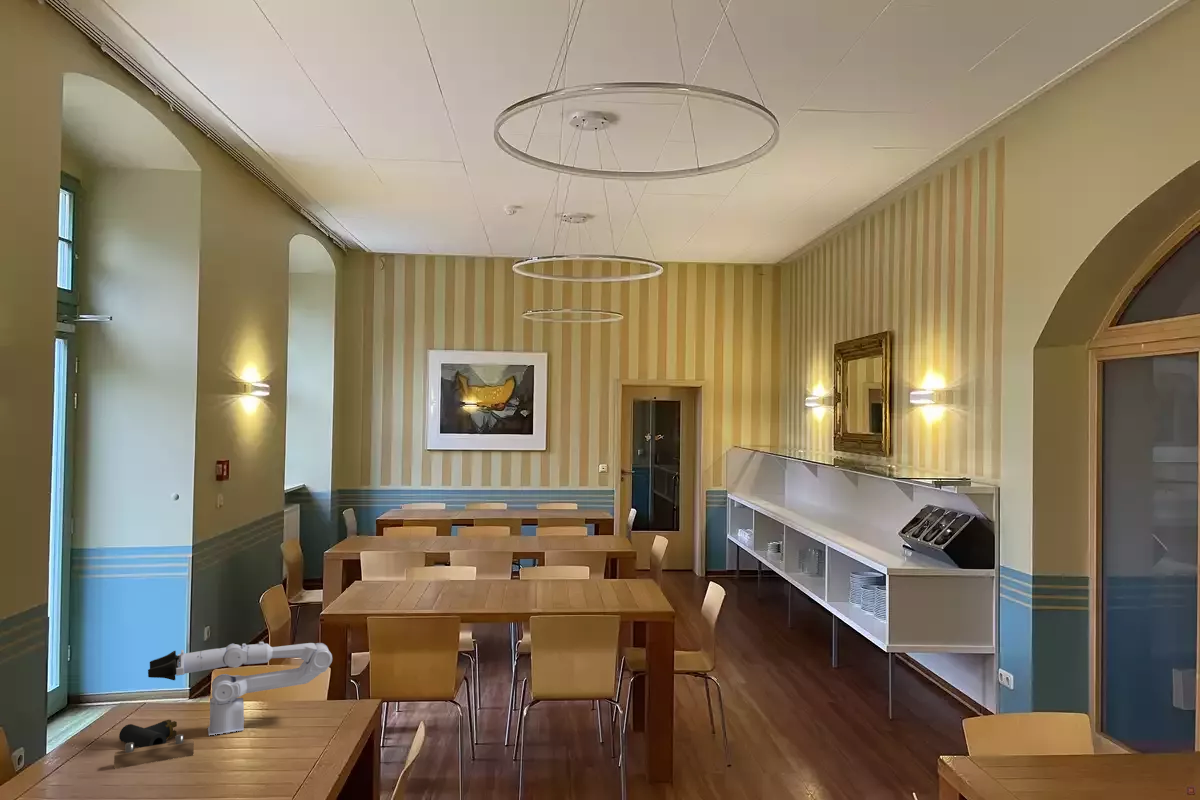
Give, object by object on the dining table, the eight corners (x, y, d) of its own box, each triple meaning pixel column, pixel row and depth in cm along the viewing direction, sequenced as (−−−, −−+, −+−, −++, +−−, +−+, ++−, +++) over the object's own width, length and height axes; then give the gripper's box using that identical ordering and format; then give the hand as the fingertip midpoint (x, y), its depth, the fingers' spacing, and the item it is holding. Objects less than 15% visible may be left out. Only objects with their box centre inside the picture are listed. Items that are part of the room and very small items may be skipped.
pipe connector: (157, 714, 246) (187, 722, 238) (158, 731, 246) (188, 741, 238) (119, 726, 236) (149, 736, 228) (119, 745, 236) (149, 755, 228)
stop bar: (193, 751, 229) (193, 731, 230) (193, 755, 227) (193, 735, 227) (114, 765, 220) (114, 744, 220) (114, 769, 218) (114, 748, 218)
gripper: (200, 640, 250) (149, 648, 244) (200, 654, 237) (146, 663, 231) (201, 663, 250) (150, 671, 245) (201, 678, 237) (147, 687, 231)
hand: (148, 669), depth 238 cm, fingers open, 7 cm apart
